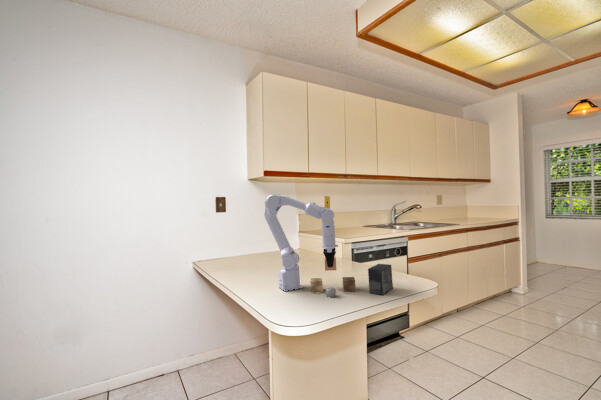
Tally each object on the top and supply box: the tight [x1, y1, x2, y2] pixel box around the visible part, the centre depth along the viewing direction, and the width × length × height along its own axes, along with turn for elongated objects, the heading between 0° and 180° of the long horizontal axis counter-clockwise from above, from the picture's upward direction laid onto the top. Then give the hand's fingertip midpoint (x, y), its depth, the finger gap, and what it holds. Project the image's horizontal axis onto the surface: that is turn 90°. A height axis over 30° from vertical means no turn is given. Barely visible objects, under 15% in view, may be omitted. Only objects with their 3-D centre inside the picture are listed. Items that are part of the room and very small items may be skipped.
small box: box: [367, 263, 394, 296], centre depth 125 cm, size 11×6×10 cm, turn 141°
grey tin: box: [325, 287, 337, 299], centre depth 122 cm, size 4×4×3 cm
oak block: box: [310, 277, 324, 293], centre depth 130 cm, size 5×5×5 cm
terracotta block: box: [324, 256, 337, 272], centre depth 133 cm, size 5×5×5 cm
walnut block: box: [342, 276, 357, 293], centre depth 129 cm, size 5×5×5 cm
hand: (330, 265), depth 133 cm, fingers closed on terracotta block, 5 cm apart
